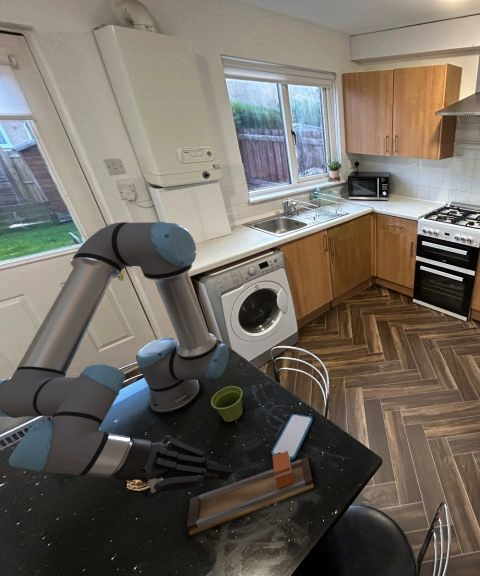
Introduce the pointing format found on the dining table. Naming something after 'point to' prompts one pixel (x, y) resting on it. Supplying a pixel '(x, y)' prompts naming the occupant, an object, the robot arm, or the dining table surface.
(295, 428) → the smartphone
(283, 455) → the orange block
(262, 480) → the rail
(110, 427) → the dining table surface
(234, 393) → the plant pot
